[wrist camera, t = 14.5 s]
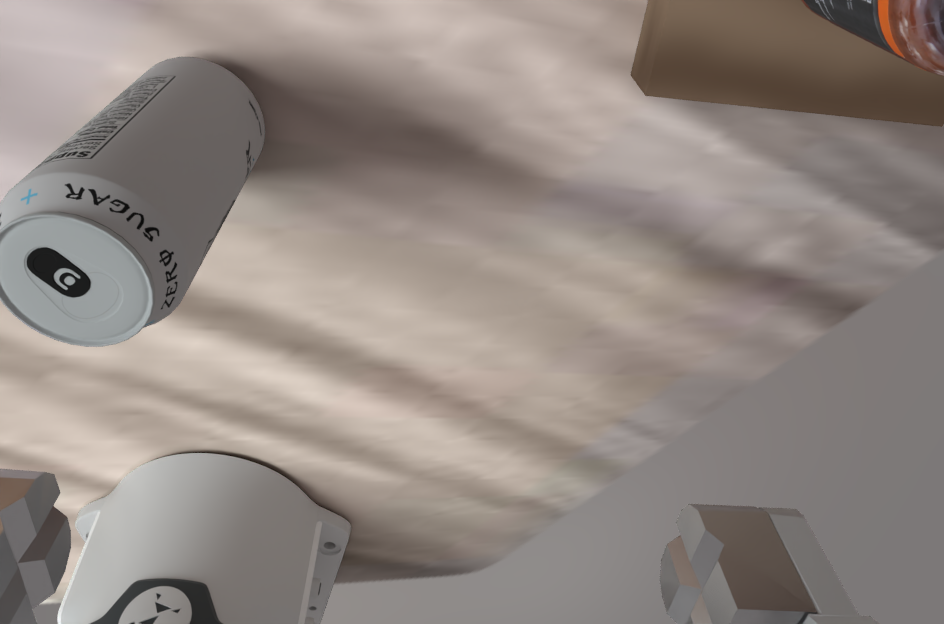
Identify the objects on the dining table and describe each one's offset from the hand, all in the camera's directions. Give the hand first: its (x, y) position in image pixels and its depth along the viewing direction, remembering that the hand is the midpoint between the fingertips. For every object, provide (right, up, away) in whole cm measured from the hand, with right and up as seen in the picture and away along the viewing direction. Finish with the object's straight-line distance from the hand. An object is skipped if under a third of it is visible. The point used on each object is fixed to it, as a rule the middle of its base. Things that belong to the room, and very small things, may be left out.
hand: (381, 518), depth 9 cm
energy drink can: (-12, +12, +25) cm, 30 cm away
